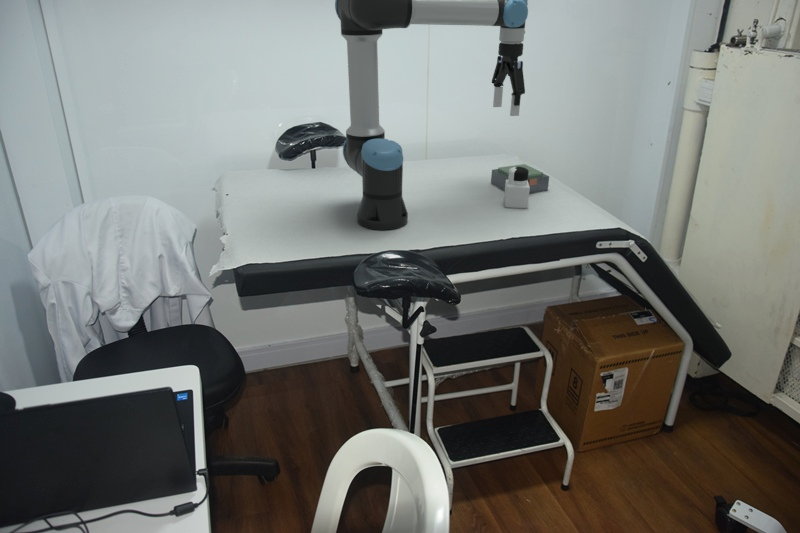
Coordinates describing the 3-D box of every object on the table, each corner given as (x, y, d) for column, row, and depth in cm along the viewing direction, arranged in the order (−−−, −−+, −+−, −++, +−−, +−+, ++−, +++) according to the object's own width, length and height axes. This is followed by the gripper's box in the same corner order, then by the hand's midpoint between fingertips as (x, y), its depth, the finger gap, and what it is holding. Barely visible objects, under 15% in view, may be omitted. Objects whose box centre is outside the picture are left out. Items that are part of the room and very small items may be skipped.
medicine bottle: (525, 201, 201) (529, 165, 195) (527, 208, 194) (531, 172, 189) (503, 200, 201) (506, 164, 196) (504, 207, 195) (508, 171, 189)
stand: (514, 196, 204) (516, 179, 202) (490, 183, 216) (492, 167, 214) (548, 190, 210) (550, 174, 207) (523, 178, 222) (525, 162, 219)
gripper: (540, 46, 181) (533, 118, 190) (505, 37, 202) (500, 102, 212) (517, 47, 179) (511, 120, 188) (484, 38, 200) (480, 104, 210)
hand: (505, 111), depth 200 cm, fingers open, 13 cm apart
